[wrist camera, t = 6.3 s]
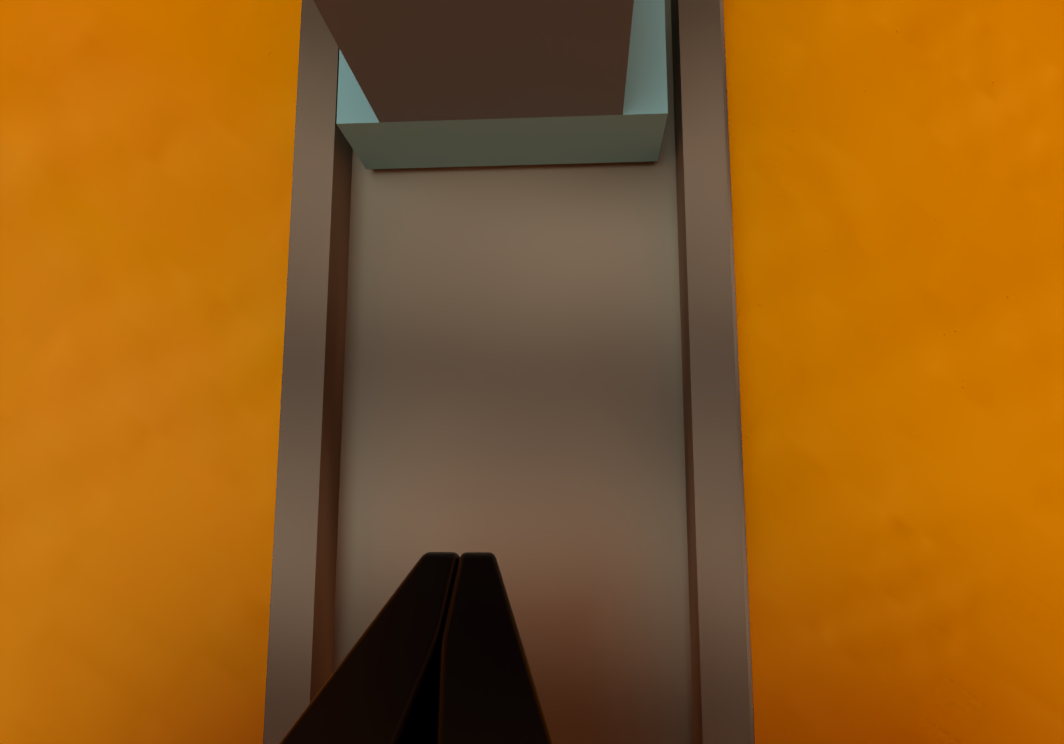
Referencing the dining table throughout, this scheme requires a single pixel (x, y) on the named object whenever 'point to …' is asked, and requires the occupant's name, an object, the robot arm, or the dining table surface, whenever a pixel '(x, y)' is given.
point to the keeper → (500, 81)
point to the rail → (522, 408)
